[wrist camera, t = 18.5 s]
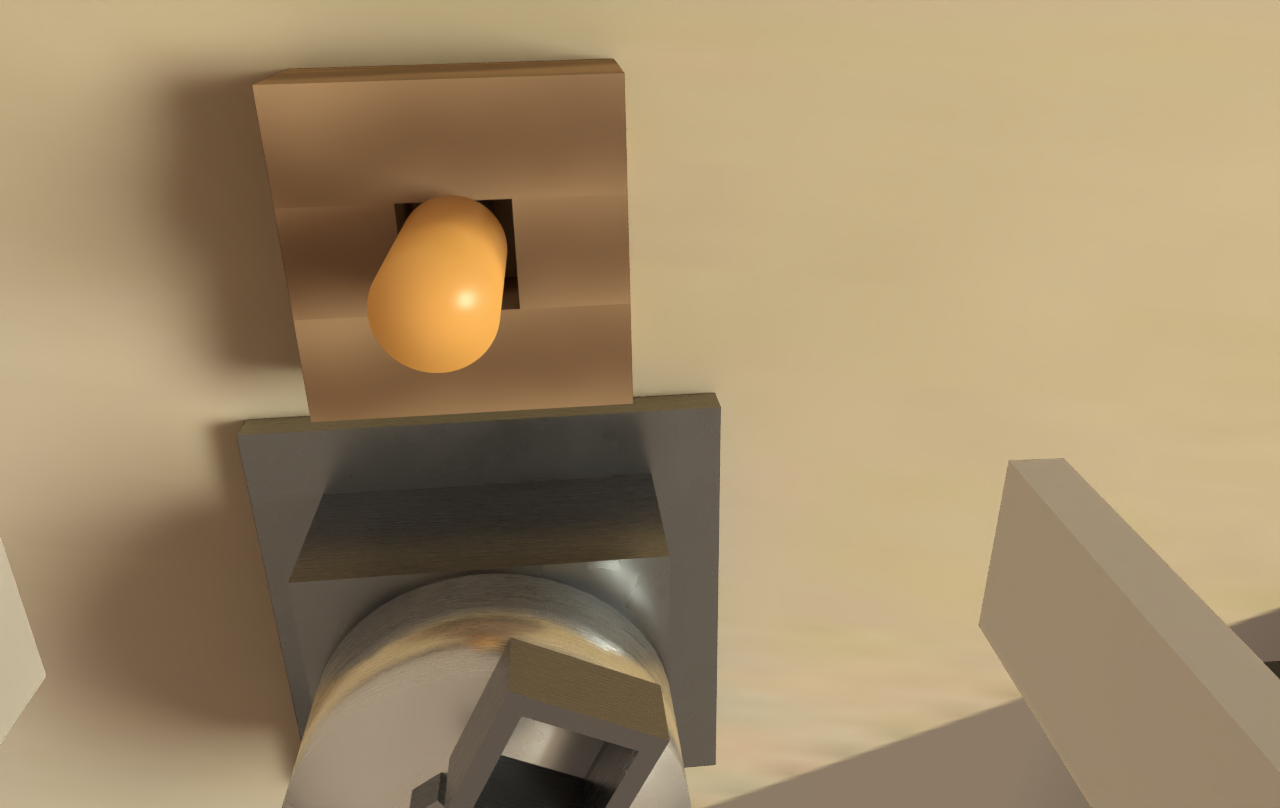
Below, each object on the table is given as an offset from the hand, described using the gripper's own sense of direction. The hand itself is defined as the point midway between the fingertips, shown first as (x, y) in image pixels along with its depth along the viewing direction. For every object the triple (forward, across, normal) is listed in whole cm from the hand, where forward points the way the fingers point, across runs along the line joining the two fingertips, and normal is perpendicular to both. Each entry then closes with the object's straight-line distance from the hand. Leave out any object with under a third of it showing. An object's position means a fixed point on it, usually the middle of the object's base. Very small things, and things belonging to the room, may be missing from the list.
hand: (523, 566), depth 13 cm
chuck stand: (+28, -3, -21) cm, 35 cm away
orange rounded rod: (+27, -3, -2) cm, 27 cm away
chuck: (+19, -2, -20) cm, 28 cm away
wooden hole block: (+28, -3, -3) cm, 28 cm away
